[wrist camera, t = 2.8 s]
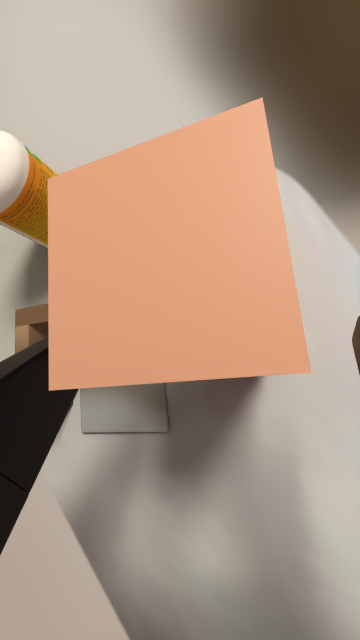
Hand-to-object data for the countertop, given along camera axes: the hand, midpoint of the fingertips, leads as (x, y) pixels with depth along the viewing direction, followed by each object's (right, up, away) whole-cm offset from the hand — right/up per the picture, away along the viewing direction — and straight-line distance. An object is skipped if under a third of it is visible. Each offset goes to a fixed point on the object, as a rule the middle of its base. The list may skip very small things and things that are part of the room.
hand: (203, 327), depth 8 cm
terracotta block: (+3, 0, +8) cm, 9 cm away
